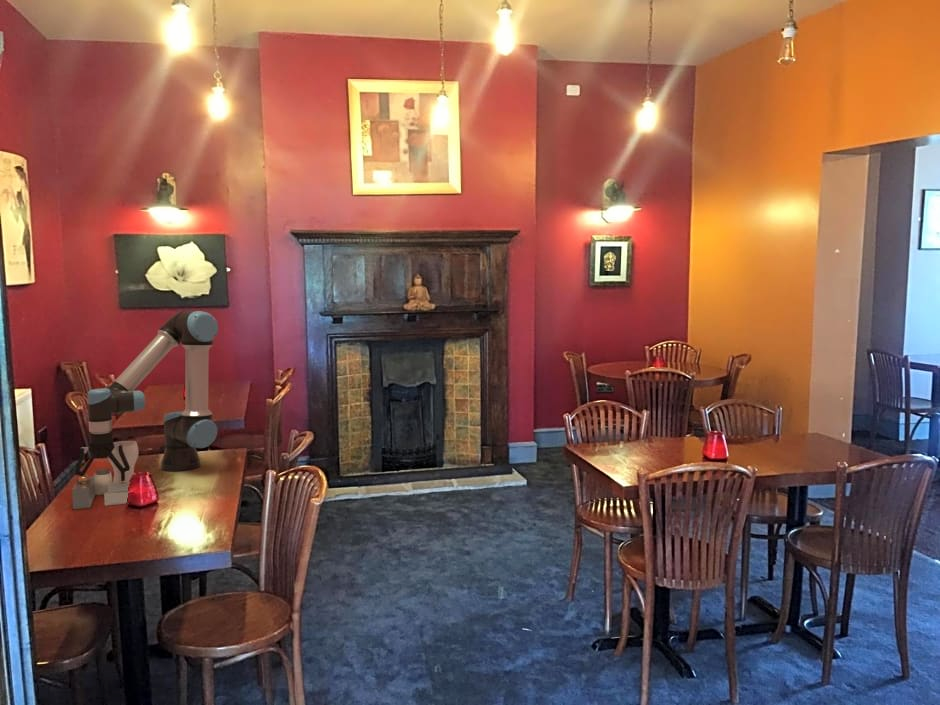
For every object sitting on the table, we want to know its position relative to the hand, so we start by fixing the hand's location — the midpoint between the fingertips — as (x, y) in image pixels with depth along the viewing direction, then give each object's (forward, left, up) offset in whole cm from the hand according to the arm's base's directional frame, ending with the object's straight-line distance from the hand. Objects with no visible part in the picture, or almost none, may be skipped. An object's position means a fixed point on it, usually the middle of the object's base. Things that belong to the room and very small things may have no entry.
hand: (103, 491), depth 269 cm
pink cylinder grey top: (0, 0, 0) cm, 0 cm away
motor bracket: (-1, +11, 0) cm, 11 cm away
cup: (-6, -12, 0) cm, 14 cm away
